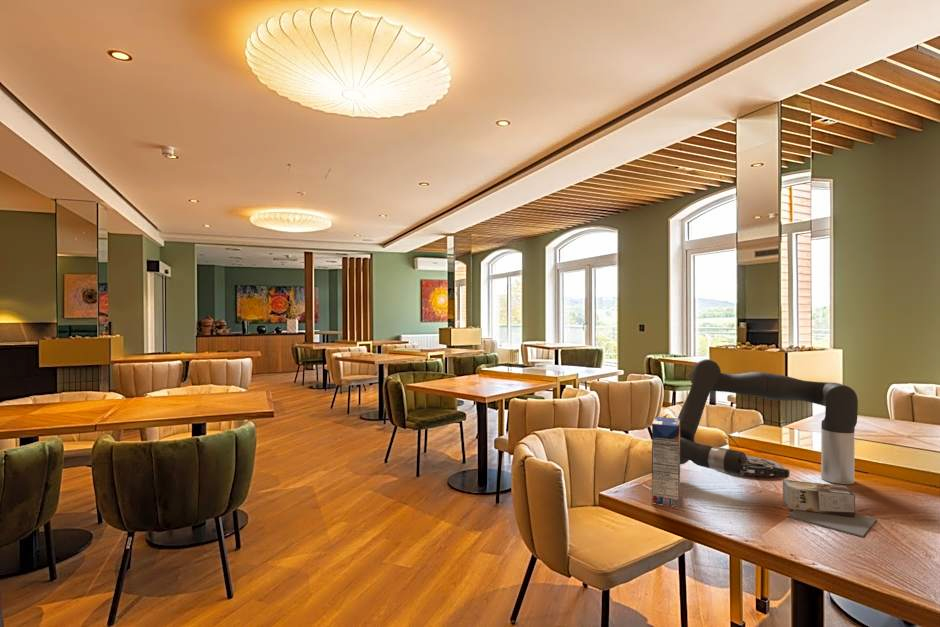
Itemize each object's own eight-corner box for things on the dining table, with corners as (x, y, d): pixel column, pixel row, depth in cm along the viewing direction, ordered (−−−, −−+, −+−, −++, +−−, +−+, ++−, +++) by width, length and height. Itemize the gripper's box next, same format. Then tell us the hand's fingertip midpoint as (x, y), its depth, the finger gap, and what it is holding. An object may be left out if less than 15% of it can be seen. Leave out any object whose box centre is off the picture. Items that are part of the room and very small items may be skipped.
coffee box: (788, 509, 146) (856, 518, 139) (788, 487, 146) (855, 495, 139) (782, 499, 154) (845, 506, 148) (782, 478, 154) (845, 484, 148)
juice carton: (654, 491, 161) (655, 416, 161) (679, 494, 158) (680, 418, 158) (651, 504, 150) (652, 423, 150) (678, 508, 147) (679, 426, 147)
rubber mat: (804, 503, 152) (804, 501, 152) (876, 520, 139) (876, 519, 139) (787, 517, 141) (787, 515, 141) (863, 537, 128) (863, 535, 128)
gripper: (718, 452, 157) (781, 465, 144) (735, 445, 165) (795, 457, 152) (718, 476, 157) (781, 491, 144) (735, 468, 165) (795, 481, 152)
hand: (788, 473), depth 148 cm, fingers closed
